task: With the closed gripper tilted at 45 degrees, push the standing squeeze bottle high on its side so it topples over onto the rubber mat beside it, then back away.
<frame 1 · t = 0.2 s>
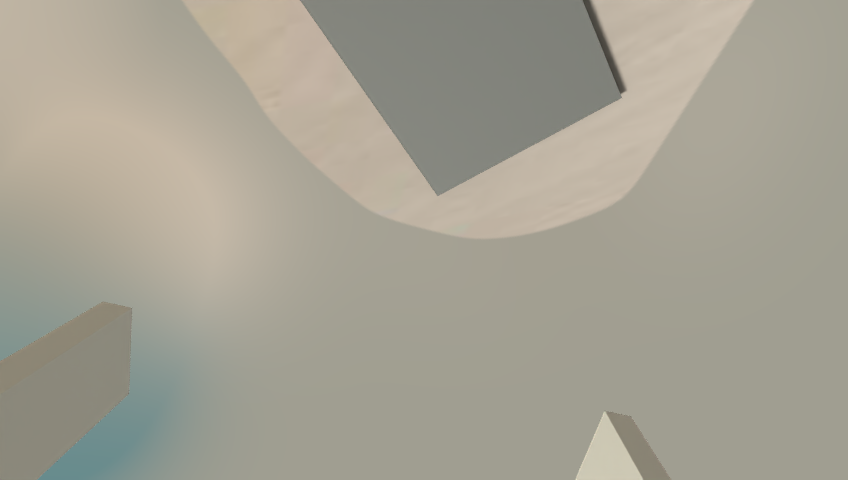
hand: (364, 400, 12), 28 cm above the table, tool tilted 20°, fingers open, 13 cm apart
rubber mat: (456, 32, 31), on the table
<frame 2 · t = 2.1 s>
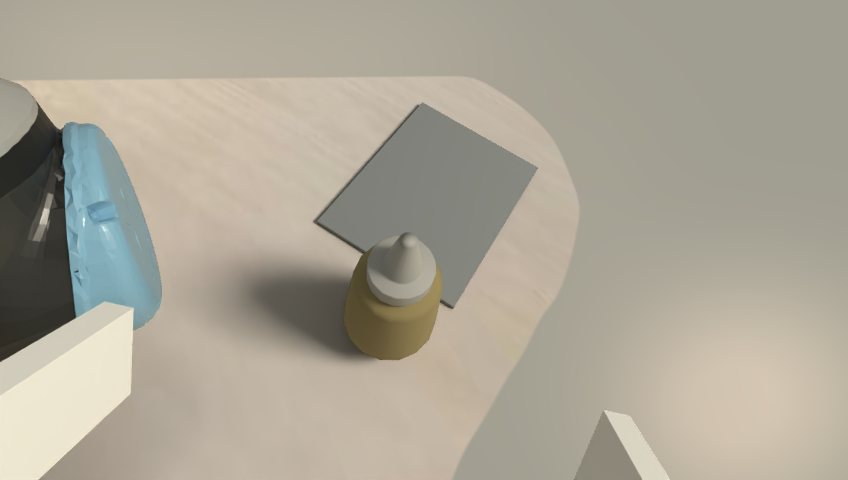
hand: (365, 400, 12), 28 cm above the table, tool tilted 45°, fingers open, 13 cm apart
squeeze bottle: (386, 325, 41), on the table
rubber mat: (435, 195, 49), on the table
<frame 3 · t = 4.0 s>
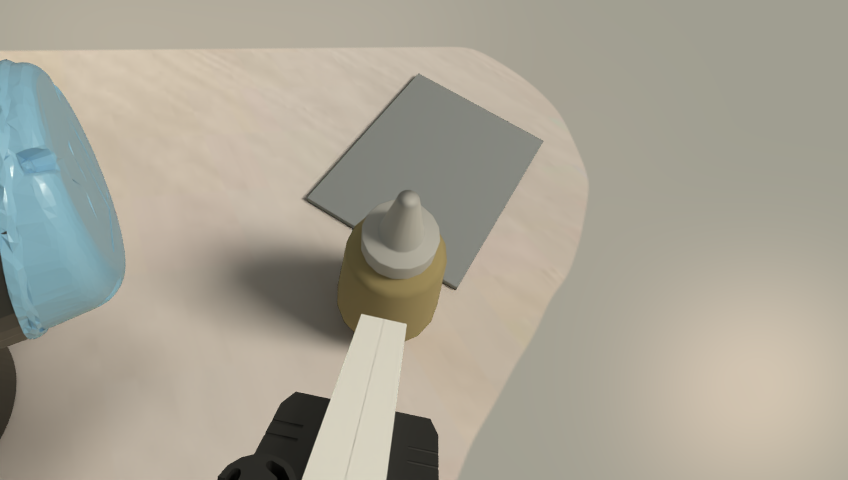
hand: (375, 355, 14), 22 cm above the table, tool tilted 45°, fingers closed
squeeze bottle: (384, 309, 38), on the table
rubber mat: (434, 170, 45), on the table
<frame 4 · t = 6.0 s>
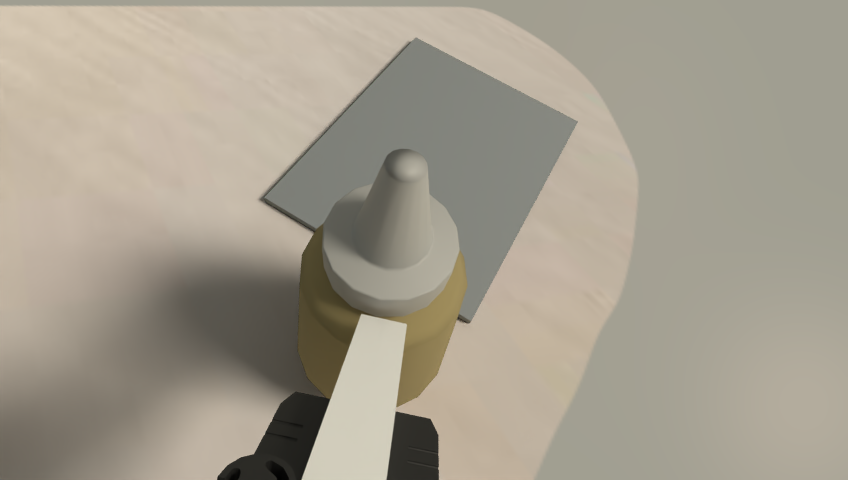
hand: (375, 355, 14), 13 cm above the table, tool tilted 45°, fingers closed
squeeze bottle: (370, 352, 27), on the table
rubber mat: (437, 159, 34), on the table
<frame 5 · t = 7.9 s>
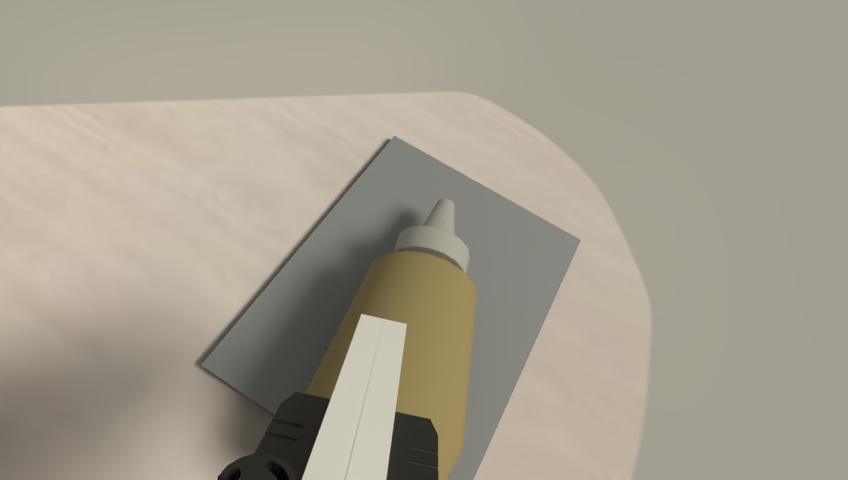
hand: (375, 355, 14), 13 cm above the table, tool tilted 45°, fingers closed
rubber mat: (415, 297, 29), on the table
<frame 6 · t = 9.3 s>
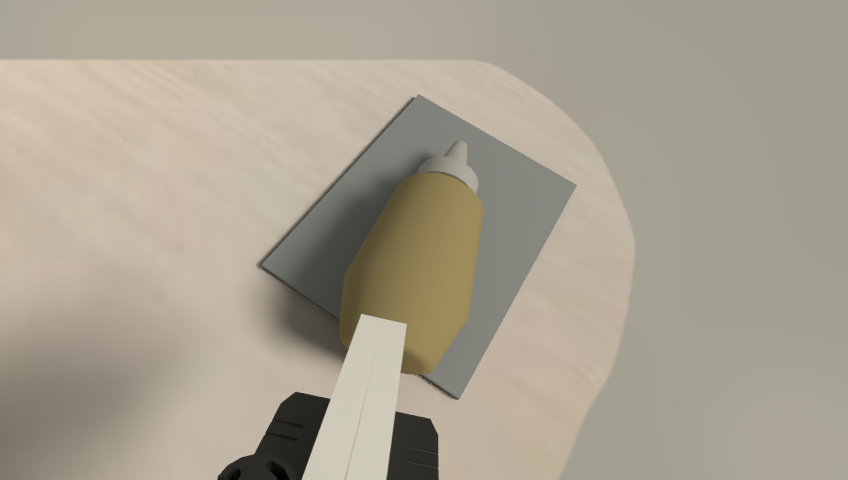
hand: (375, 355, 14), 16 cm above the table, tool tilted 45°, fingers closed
squeeze bottle: (383, 360, 24), point 5 cm above the table, touching rubber mat
rubber mat: (434, 224, 35), on the table
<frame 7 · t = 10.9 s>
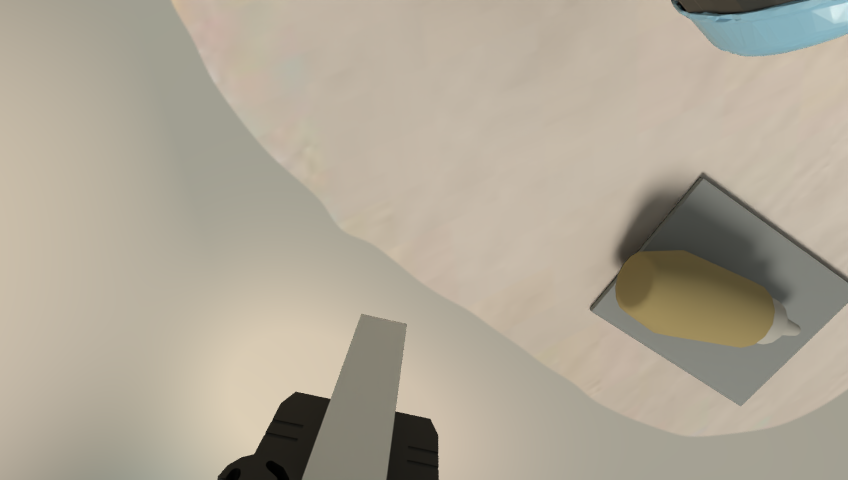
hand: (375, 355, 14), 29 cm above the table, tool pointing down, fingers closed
squeeze bottle: (632, 280, 39), point 5 cm above the table, touching rubber mat
rubber mat: (720, 299, 45), on the table
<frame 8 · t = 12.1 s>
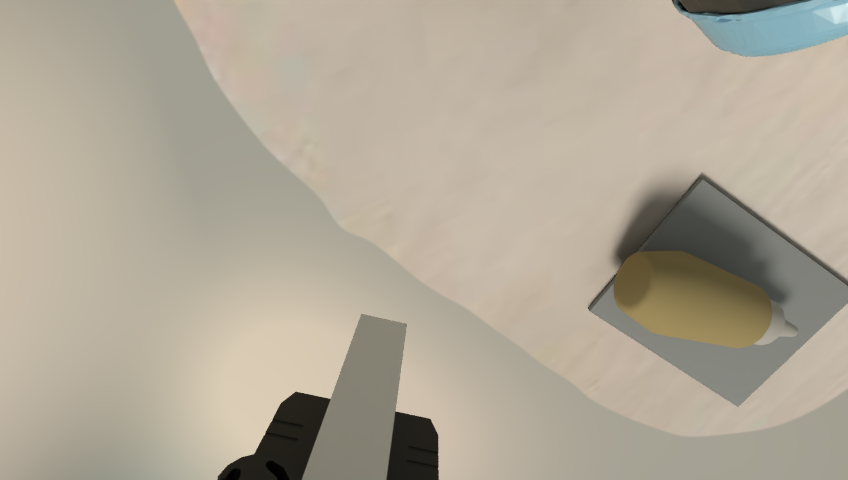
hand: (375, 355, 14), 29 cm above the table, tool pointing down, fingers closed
squeeze bottle: (630, 280, 39), point 5 cm above the table, touching rubber mat
rubber mat: (718, 299, 45), on the table
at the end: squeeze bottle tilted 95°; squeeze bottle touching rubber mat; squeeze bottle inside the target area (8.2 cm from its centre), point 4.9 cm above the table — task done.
